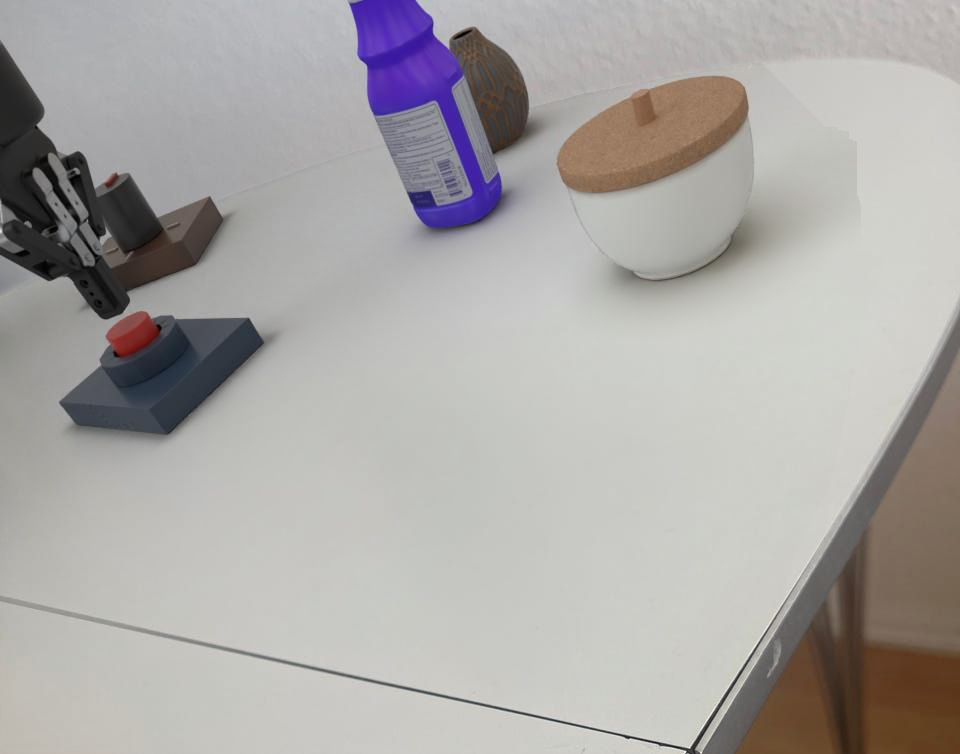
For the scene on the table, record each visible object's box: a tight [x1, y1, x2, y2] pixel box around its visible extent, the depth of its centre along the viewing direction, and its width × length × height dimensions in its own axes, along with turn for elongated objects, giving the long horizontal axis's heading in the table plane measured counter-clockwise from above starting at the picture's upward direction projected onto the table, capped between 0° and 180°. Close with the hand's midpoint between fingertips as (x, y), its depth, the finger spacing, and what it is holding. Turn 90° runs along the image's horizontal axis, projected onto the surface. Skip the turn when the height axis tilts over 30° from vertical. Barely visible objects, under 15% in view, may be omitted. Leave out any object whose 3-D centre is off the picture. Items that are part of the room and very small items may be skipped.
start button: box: [105, 310, 160, 357], centre depth 74 cm, size 4×4×2 cm
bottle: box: [347, 0, 503, 229], centre depth 72 cm, size 7×6×17 cm
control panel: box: [72, 195, 224, 306], centre depth 100 cm, size 13×10×3 cm
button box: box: [58, 314, 265, 435], centre depth 76 cm, size 13×11×4 cm
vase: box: [448, 26, 530, 152], centre depth 83 cm, size 7×7×9 cm
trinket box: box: [556, 75, 755, 281], centre depth 57 cm, size 11×11×9 cm
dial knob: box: [94, 171, 163, 252], centre depth 97 cm, size 5×5×6 cm
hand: (117, 311), depth 73 cm, fingers closed
